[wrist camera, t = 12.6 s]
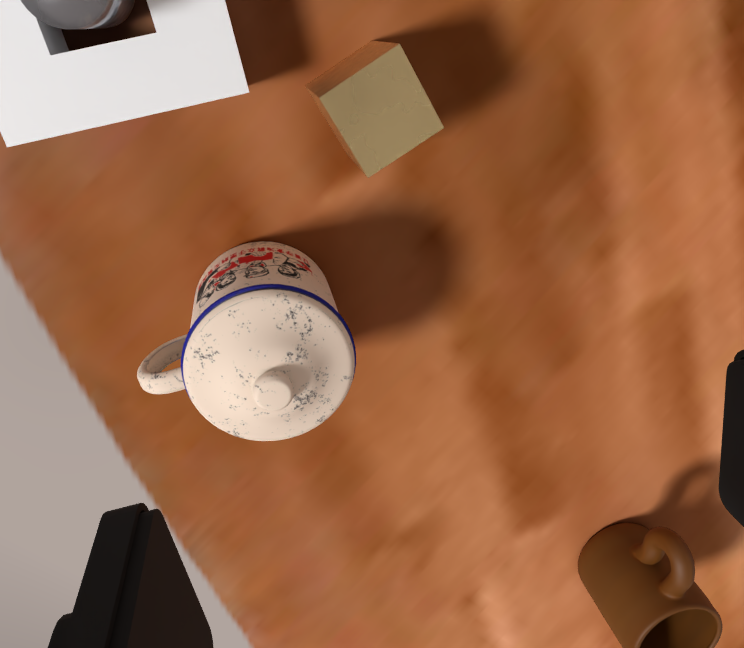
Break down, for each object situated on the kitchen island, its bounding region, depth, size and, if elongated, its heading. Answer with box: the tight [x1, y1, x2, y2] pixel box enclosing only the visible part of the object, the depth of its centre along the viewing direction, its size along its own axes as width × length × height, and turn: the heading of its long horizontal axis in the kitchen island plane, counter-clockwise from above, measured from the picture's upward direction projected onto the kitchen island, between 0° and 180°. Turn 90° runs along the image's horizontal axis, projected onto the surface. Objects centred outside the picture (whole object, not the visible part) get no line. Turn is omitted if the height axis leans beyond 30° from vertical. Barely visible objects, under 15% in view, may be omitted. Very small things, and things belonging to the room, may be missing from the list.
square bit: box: [305, 41, 444, 178], centre depth 35 cm, size 4×4×7 cm
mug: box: [578, 523, 722, 648], centre depth 53 cm, size 12×8×9 cm, turn 3°
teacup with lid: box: [137, 241, 356, 441], centre depth 37 cm, size 12×9×12 cm
